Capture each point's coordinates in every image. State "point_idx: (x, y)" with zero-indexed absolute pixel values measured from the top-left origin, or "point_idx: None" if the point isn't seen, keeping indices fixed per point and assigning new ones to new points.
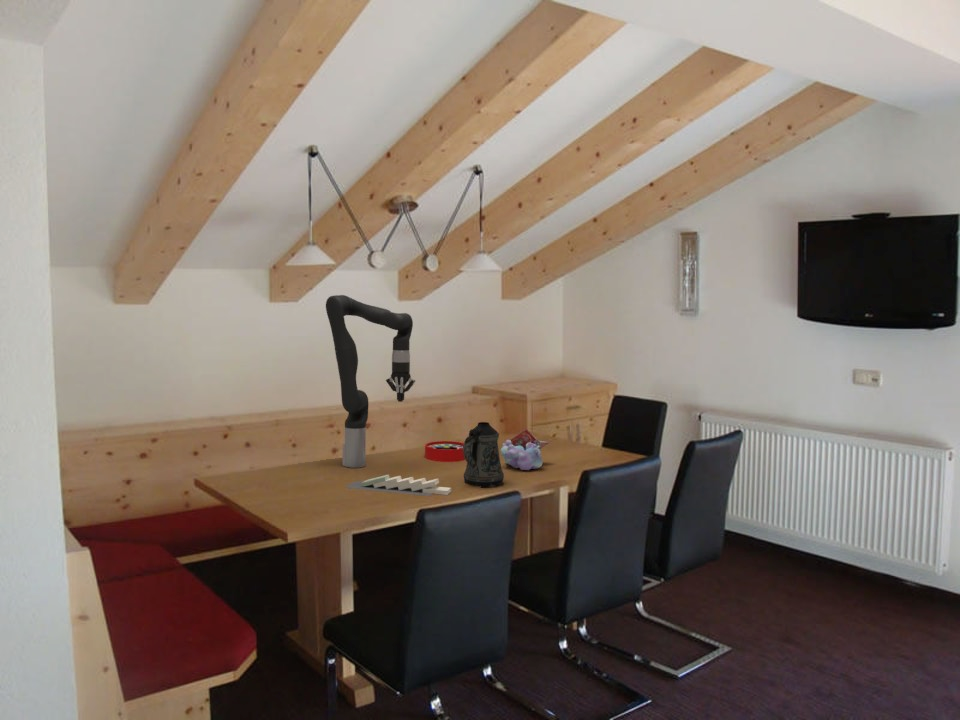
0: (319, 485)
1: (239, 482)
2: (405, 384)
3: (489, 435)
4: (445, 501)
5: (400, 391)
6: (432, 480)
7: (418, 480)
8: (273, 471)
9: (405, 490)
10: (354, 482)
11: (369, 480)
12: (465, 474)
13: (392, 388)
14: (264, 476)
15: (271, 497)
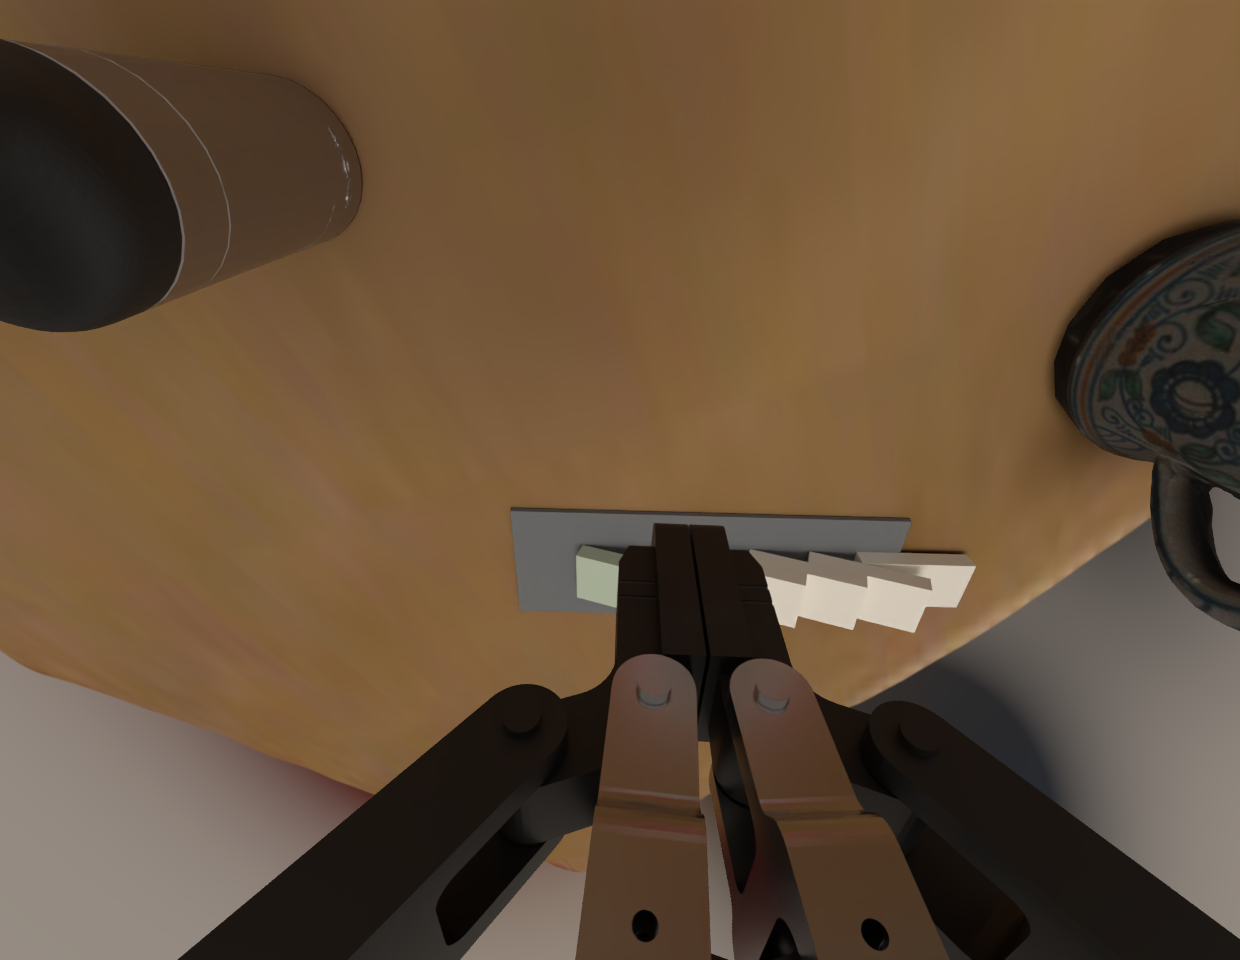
0: (402, 591)
1: (110, 631)
2: (916, 926)
3: None
4: (936, 641)
5: (719, 786)
6: (902, 599)
7: (837, 610)
8: (34, 455)
9: None
10: (517, 538)
11: (606, 594)
12: (1088, 416)
13: (486, 851)
14: (95, 540)
15: (362, 727)
